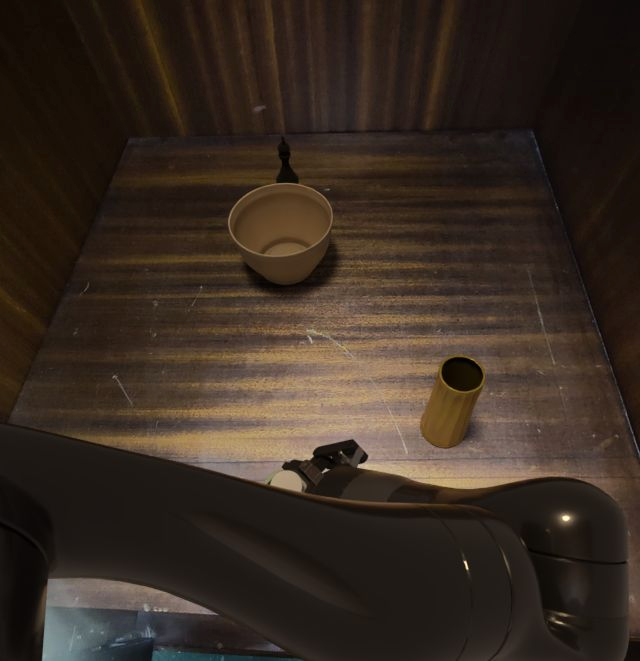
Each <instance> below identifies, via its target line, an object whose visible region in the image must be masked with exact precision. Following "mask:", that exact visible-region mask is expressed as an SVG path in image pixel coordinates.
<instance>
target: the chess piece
mask: <svg viewBox="0 0 640 661" xmlns="http://www.w3.org/2000/svg"><path fill="white" fill-rule="evenodd" d="M290 150H291V145H290V144H289V143H287V142H286V139H285V137H284V135H281V136H280V142H279V143H278V145H277V151H278V153H277V155H278V158H279V159H280V161H281V168H280V170H279V173H278V174H277V177H276V179H275V182H276V183H275V184H277V183H294V184H299V181H300V178H299V177H298V175H297V173H296V172H295V171H294V170H293V167H292V166H291V165H290V158H291V151H290Z"/></svg>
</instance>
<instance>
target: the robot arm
mask: <svg viewBox="0 0 640 661" xmlns="http://www.w3.org/2000/svg"><path fill="white" fill-rule="evenodd" d="M312 456H313V457H311V458H310V459H308V458H307V459H304V460H300V459H295V458H294V459H291V460H290V461H284V462H283V464H282V465H281V468H282V469H284V470H289V471H293V472H295V473H296V474H298V475H299V477H300V478H301V479H302V480H303V481H306V482H309V484H308V485H307V487H306V489H305V491H304V492H298V491H294V490H289V489H285V488H281V487H277V486H273V485H269V484H265V483H264V482H259V481H256V480H253V479H248V478H243V477H240V476H236V475H231V474H227V473H223V472H221V471H216V470H212V469H209V468H204V467H201V466H197V465H193V464H189V463H184V462H180V461H177V460H172V459H168V458H163V457H159V456H154V455H149V454H145V453H140V452H136V451H132V450H127V449H123V448H118V447H114V446H110V445H105V444H101V443H97V442H94V441H89V440H85V439H81V438H76V437H72V436H67V435H65V434H59V433H54V432H51V431H46V430H43V429H37V428H34V427H31V426H27V425H26V426H25V425H21V424H15V423H11V422H5V421H1V420H0V661H43V656H44V655H43V653H44V640H45V628H46V627H45V626H46V614H47V598H48V597H47V596H48V586H49V580H66V579H67V580H68V579H70V580H71V579H82V580H83V579H85V580H102V581H112V582H121V583H126V584H132V585H135V586H141V587H146V588H149V589H153V590H157V591H158V592H159V591H160V592H164V593H166V594H169V595H172V596H175V597H176V598H179V599H182V600H184V601H187V602H188V603H192V604H195V605H197V606H199V607H202V608H204V609H207V610H209V611H210V612H212V613H215V614H217V615H219V616H221V617H223V618H225V619H226V620H228V621H230V622H232V623H235V624H237V625H238V626H241V627H242V628H244V629H246V630H247V631H249V632H251V633H253V634H255V635H256V636H258V637H260V638H262V639H264V640H265V641H267V642H268V643H270V644H272V645H274V646H276V647H278V648H279V649H281V650H282V651H285V652H287V653H289V654H291V656H294V657H296V658H298V659H300V660H302V661H625V658H626V656H627V653H628V650H629V649H628V648H629V644H630V591H629V590H630V589H629V588H630V584H629V582H630V581H629V578H630V577H629V562H628V560H629V528H628V522H627V517H626V515H625V513H624V511H623V509H622V507H621V506H620V505H619V503H618V502H617V501H616V500H615V499H614V498H613V497H612V496H611V495H610V494H609V493H607V492H605V491H604V490H603V489H601V488H600V487H598V486H597V485H594V484H592V483H591V482H588V481H585V480H582V479H580V478H579V479H578V478H574V477H567V476H544V477H543V476H542V477H534V478H533V477H532V478H526V479H522V480H517V481H511V482H507V483H502V484H498V485H494V486H487V487H477V488H476V487H475V488H458V487H457V488H456V487H450V486H443V485H436V484H432V483H426V482H422V481H417V480H414V479H411V478H409V477H406V476H404V475H401V474H400V475H399V474H396V473H390V472H385V471H378V470H373V469H367V468H362V467H358V466H359V465H362V464H364V463H366V462H367V461H368V459H369V454H368V453H367V452H366V451H365V450H364V449H363V447H362V446H360V445H359V444H358V442H357V441H356V440H355V439H354V438H350V439H346V440H342V441H338V442H333V443H328V444H324V445H320V446H319V445H318V446H317V447H316V448H314V450H312ZM325 470H326V471H325Z"/></svg>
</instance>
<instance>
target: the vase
mask: <svg viewBox="0 0 640 661" xmlns="http://www.w3.org/2000/svg"><path fill="white" fill-rule="evenodd" d="M486 377H487V375H486V370H485V368H484V366H483V365H482V364H481V363H480V362H479V361H478V359H475V358H474V357H472V356H470V355H466V354H461V353H460V354H459V353H458V354H452V355H449V356H447V357H445V358H444V359H443V360H441V362H440V364H439V367H438V371H437V374H436V378H435V380H434V382H433V386H432V390H431V392H430V396H429V399H428V401H427V404H426V406H425V410H424V412H423V414H422V415H421V417H420V421H419V425H420V426H419V427H420V432H421V433H422V435H423V437H424V438H425V440H426V441H428V442H429V443H430V444H432V445H434V446H436V447H439V448H446V449H447V448H452V447H455V446H457V445H459V444H460V443H462V441H463V440H464V438H466V434H467V429H468V427H469V424H470V420H471V418H472V415H473V412H474V410H475V406H476V403H477V401H478V399H479V397H480V395H481V393H482V390H483V388H484V385H485V383H486V382H485V381H486Z"/></svg>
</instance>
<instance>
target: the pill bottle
mask: <svg viewBox="0 0 640 661" xmlns="http://www.w3.org/2000/svg"><path fill="white" fill-rule="evenodd" d="M270 485H273V486H277V487H281V488H285V489H289V490H294V491H298V492H304V491H305V489H306V487H307V485H306V483H305V482H304V481H303V480H302V479H301V478H300V477H299V475H298V474H296V473H295V472H293V471H289V470H285V471H281V472H279V473H277V474H276V475H275V476H274V477H273V479H272V480H271V483H270Z"/></svg>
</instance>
